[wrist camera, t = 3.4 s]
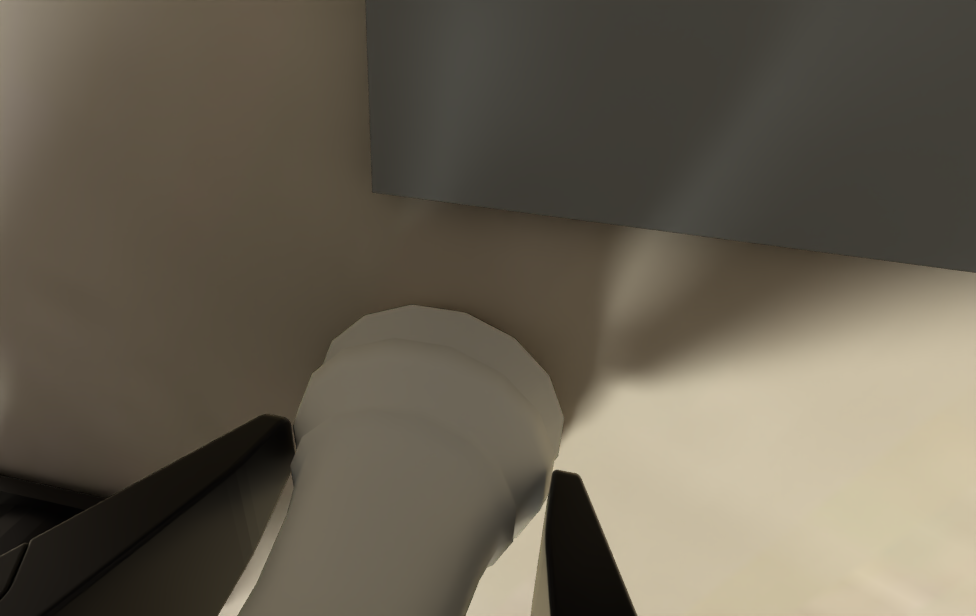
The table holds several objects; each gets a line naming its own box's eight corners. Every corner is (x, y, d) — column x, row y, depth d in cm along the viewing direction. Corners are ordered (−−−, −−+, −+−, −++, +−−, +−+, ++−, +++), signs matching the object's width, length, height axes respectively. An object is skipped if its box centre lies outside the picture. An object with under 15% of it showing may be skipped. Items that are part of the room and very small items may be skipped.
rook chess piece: (486, 248, 9) (52, 1129, 2) (609, 453, 10) (593, 1349, 4) (283, 345, 11) (-313, 990, 4) (413, 507, 12) (153, 1180, 5)
